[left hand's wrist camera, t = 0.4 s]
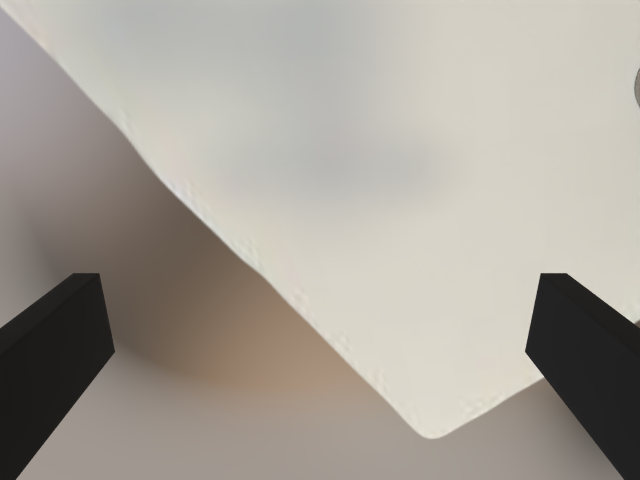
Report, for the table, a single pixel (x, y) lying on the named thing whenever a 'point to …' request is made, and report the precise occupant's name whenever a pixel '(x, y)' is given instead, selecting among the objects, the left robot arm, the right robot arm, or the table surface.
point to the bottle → (637, 87)
